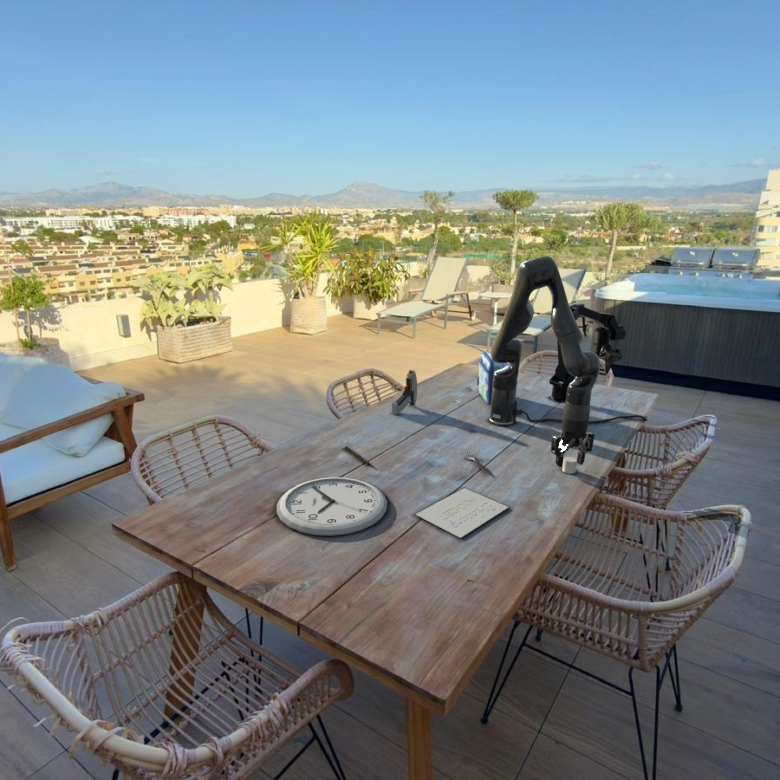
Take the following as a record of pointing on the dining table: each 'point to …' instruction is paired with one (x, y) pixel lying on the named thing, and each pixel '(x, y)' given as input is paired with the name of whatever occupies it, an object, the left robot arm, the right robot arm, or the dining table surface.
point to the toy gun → (407, 394)
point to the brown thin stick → (357, 455)
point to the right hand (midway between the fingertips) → (598, 374)
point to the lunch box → (487, 375)
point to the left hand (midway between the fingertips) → (569, 464)
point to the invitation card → (461, 512)
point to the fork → (474, 459)
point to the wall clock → (331, 506)
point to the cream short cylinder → (569, 465)
